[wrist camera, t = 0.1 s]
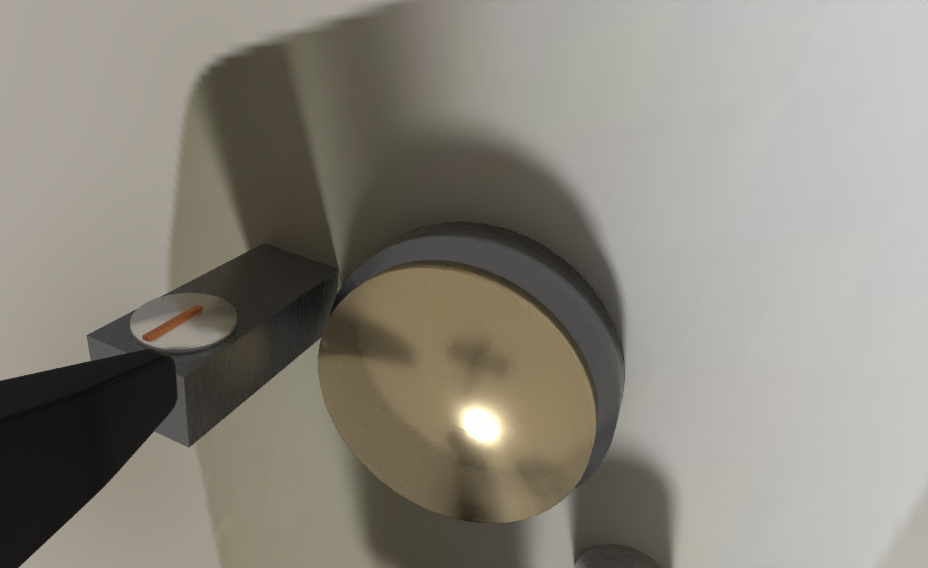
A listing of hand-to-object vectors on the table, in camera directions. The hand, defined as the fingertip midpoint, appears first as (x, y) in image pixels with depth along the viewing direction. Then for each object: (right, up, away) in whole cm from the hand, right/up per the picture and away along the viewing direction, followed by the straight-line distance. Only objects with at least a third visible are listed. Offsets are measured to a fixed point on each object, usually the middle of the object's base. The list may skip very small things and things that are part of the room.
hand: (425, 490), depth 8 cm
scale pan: (0, -1, +15) cm, 15 cm away
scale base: (-1, 0, +17) cm, 18 cm away
